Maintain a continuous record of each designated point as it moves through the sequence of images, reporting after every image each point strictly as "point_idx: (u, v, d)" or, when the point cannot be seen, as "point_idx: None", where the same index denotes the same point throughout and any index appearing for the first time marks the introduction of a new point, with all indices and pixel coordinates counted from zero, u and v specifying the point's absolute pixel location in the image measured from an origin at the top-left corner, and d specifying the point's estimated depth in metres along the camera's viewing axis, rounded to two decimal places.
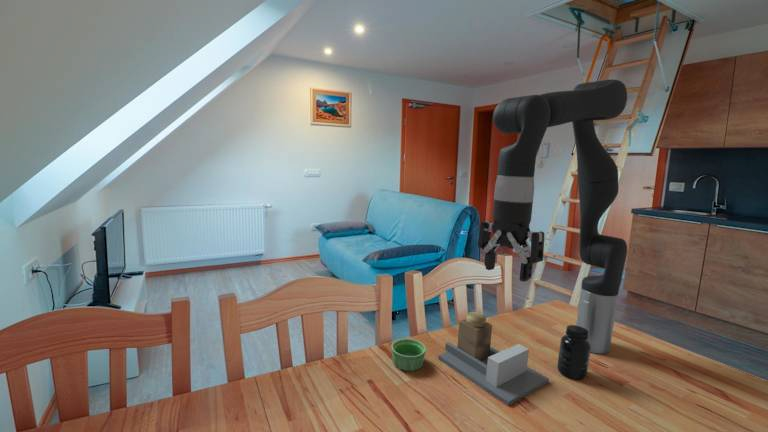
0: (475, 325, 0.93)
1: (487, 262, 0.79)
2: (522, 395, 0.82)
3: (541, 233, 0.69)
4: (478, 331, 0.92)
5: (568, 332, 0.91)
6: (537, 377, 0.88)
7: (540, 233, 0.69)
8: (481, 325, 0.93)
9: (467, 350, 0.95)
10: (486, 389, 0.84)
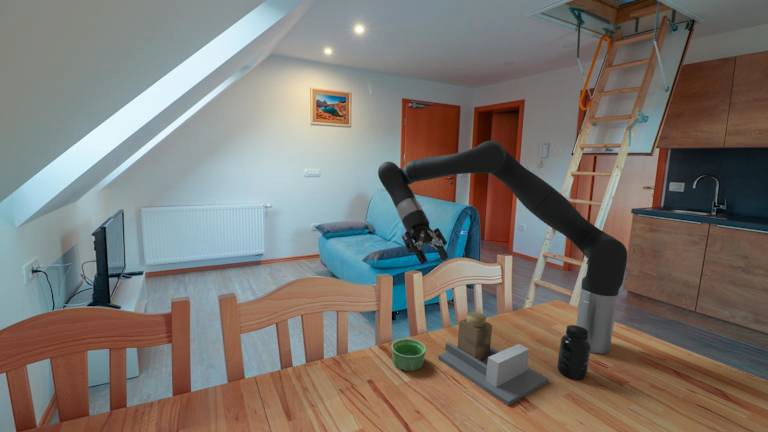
0: (475, 325, 0.93)
1: None
2: (522, 395, 0.82)
3: (404, 233, 1.06)
4: (478, 331, 0.92)
5: (568, 332, 0.91)
6: (537, 377, 0.88)
7: (403, 234, 1.06)
8: (481, 325, 0.93)
9: (467, 350, 0.95)
10: (486, 389, 0.84)
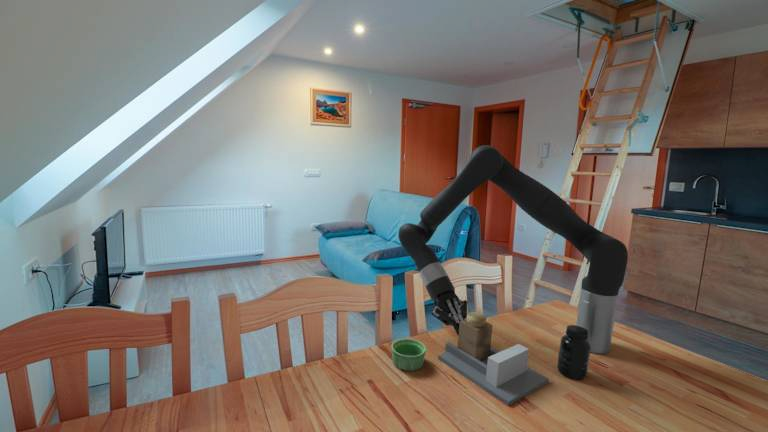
0: (475, 325, 0.93)
1: None
2: (522, 395, 0.82)
3: (434, 311, 1.00)
4: (478, 331, 0.92)
5: (568, 332, 0.91)
6: (537, 377, 0.88)
7: (433, 312, 1.00)
8: (481, 325, 0.93)
9: (468, 351, 0.95)
10: (486, 389, 0.84)
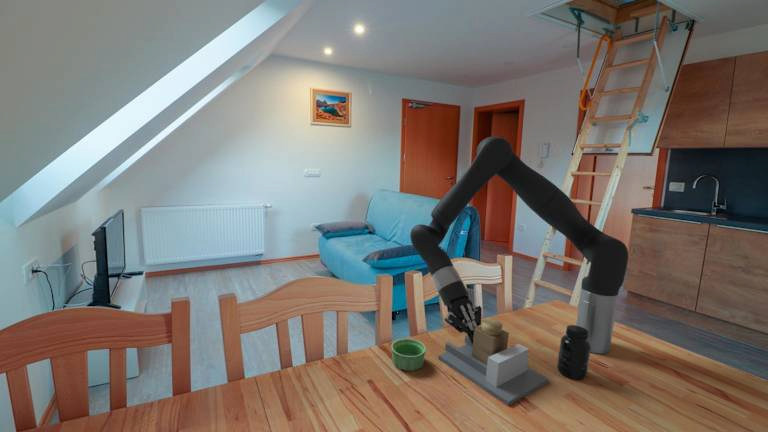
0: (491, 333, 0.89)
1: None
2: (522, 395, 0.82)
3: (448, 318, 0.96)
4: (494, 340, 0.88)
5: (568, 332, 0.91)
6: (537, 377, 0.88)
7: (447, 318, 0.96)
8: (497, 333, 0.89)
9: (483, 360, 0.91)
10: (486, 389, 0.84)
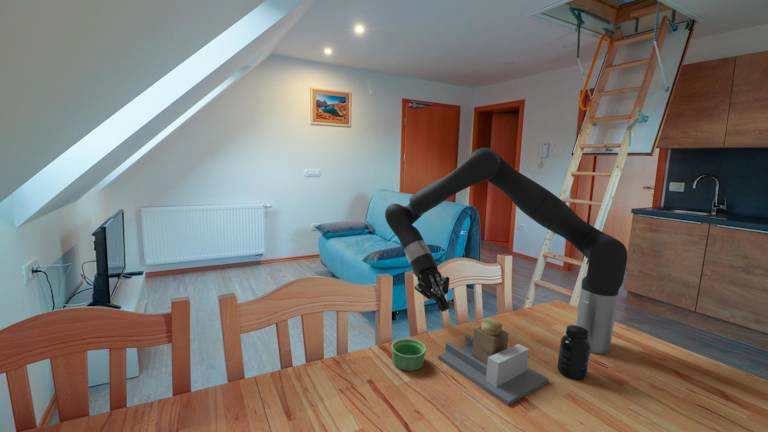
0: (491, 333, 0.89)
1: None
2: (522, 395, 0.82)
3: (417, 286, 1.05)
4: (494, 339, 0.88)
5: (568, 332, 0.91)
6: (537, 377, 0.88)
7: (416, 286, 1.05)
8: (497, 333, 0.89)
9: (483, 360, 0.91)
10: (486, 389, 0.84)
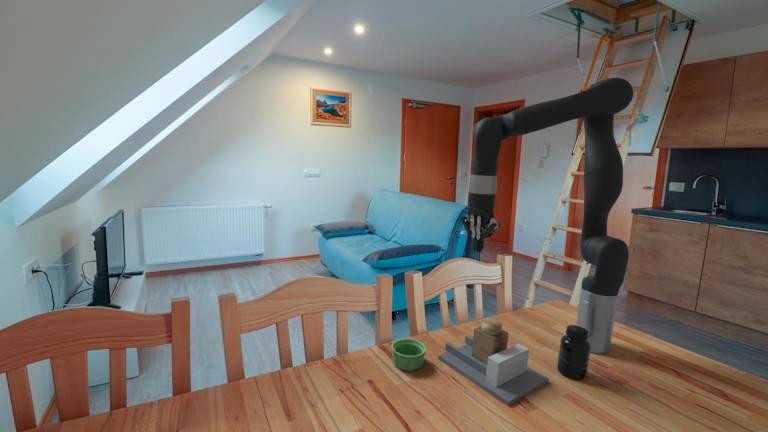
0: (491, 333, 0.89)
1: (474, 245, 1.03)
2: (522, 395, 0.82)
3: (498, 225, 0.98)
4: (494, 339, 0.88)
5: (568, 332, 0.91)
6: (537, 377, 0.88)
7: (497, 225, 0.98)
8: (497, 333, 0.89)
9: (483, 360, 0.91)
10: (486, 389, 0.84)
